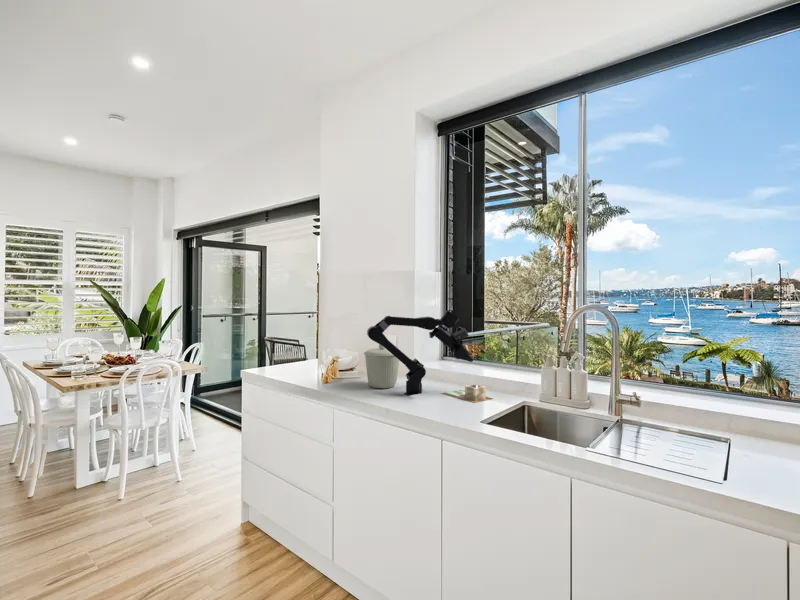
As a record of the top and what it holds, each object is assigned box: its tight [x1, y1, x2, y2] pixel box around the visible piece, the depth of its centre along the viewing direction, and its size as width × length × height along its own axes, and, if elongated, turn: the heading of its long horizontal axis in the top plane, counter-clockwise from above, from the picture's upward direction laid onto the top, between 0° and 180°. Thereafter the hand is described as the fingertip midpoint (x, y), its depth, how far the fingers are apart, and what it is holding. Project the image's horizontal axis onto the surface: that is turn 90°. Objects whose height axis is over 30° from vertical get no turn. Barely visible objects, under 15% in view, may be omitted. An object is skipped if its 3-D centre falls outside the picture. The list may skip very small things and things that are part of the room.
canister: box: [363, 344, 400, 389], centre depth 205 cm, size 18×18×21 cm
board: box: [440, 389, 494, 404], centre depth 181 cm, size 12×20×2 cm, turn 37°
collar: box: [464, 384, 487, 401], centre depth 177 cm, size 6×6×5 cm
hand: (470, 357), depth 193 cm, fingers open, 9 cm apart
